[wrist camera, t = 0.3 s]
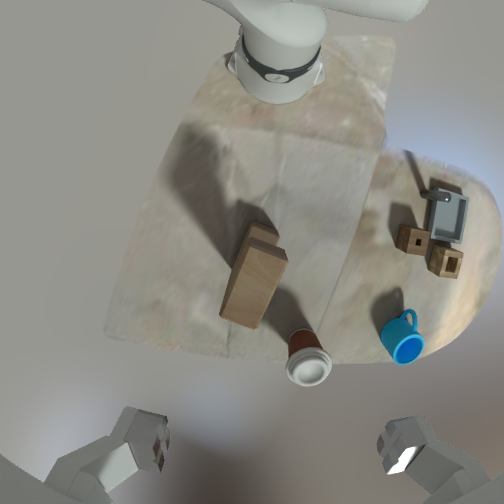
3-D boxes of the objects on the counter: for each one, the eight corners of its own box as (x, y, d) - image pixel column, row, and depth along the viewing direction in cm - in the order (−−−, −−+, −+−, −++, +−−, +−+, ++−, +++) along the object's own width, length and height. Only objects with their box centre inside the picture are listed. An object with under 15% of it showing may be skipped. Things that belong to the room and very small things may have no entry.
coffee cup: (302, 363, 61) (309, 397, 50) (273, 342, 60) (276, 376, 48) (330, 337, 60) (343, 369, 48) (302, 315, 58) (312, 345, 47)
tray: (433, 187, 50) (439, 187, 48) (463, 196, 51) (468, 197, 48) (425, 236, 53) (430, 238, 51) (455, 242, 53) (460, 244, 51)
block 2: (433, 244, 54) (445, 249, 49) (451, 247, 54) (463, 253, 49) (427, 269, 55) (439, 276, 50) (445, 271, 55) (457, 278, 50)
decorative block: (252, 219, 53) (248, 242, 34) (279, 230, 54) (291, 260, 34) (230, 270, 56) (216, 317, 37) (256, 281, 56) (255, 332, 37)
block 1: (400, 224, 53) (411, 228, 48) (418, 227, 53) (430, 232, 48) (395, 247, 54) (406, 253, 49) (413, 250, 54) (425, 256, 49)
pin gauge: (420, 188, 51) (444, 191, 42) (427, 190, 51) (451, 193, 42) (419, 197, 51) (443, 201, 42) (426, 199, 51) (450, 203, 42)
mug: (402, 346, 60) (416, 364, 52) (375, 346, 60) (388, 365, 52) (418, 303, 57) (435, 318, 49) (391, 301, 57) (406, 317, 49)
